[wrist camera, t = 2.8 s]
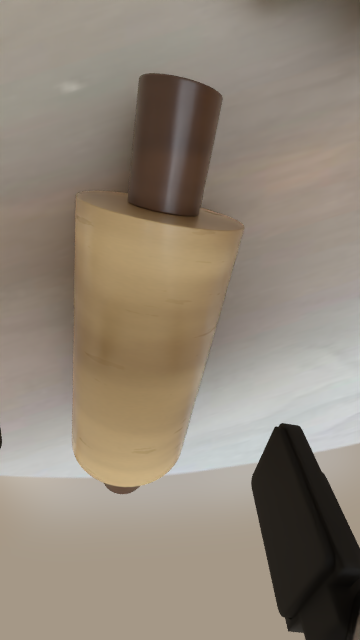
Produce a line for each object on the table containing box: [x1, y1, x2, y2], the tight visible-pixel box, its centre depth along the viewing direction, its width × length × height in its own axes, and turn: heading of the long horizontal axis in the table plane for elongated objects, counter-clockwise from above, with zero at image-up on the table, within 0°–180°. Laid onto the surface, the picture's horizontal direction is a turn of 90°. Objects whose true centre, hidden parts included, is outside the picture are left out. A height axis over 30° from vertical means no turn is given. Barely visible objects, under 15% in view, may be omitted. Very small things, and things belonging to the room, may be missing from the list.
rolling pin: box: [72, 73, 245, 494], centre depth 13 cm, size 19×6×6 cm, turn 169°
